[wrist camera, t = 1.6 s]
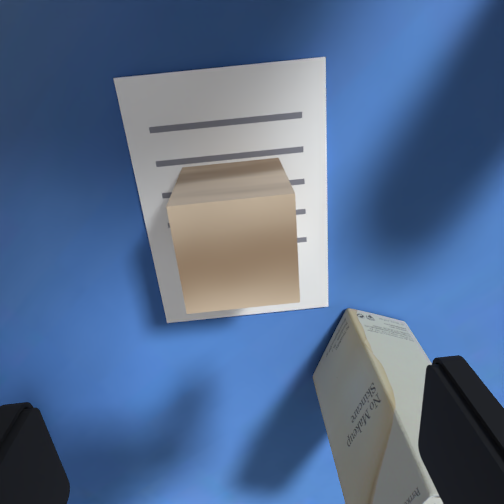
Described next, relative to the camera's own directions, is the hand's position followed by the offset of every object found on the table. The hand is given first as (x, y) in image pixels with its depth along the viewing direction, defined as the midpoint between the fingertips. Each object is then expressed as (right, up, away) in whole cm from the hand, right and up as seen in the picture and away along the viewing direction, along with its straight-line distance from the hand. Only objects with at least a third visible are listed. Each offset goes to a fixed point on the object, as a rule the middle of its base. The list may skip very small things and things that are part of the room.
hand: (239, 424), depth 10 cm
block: (-1, +7, +12) cm, 14 cm away
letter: (-1, +7, +13) cm, 14 cm away
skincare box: (+7, -2, +18) cm, 19 cm away
